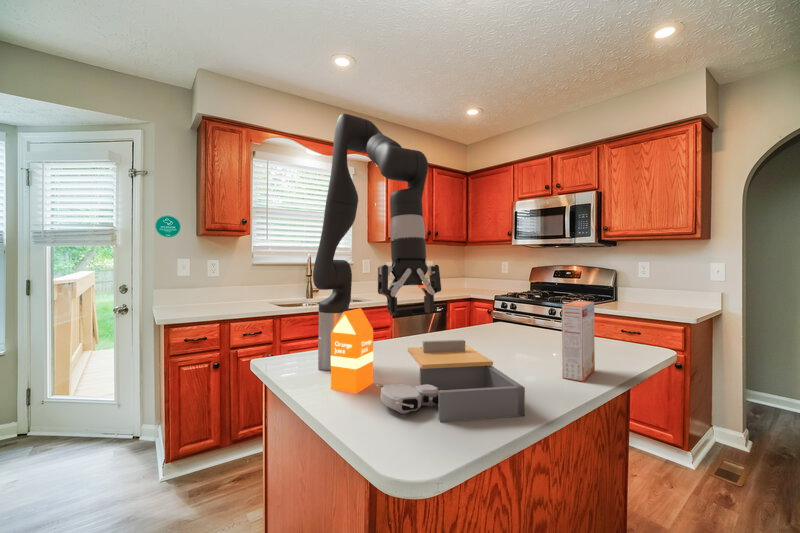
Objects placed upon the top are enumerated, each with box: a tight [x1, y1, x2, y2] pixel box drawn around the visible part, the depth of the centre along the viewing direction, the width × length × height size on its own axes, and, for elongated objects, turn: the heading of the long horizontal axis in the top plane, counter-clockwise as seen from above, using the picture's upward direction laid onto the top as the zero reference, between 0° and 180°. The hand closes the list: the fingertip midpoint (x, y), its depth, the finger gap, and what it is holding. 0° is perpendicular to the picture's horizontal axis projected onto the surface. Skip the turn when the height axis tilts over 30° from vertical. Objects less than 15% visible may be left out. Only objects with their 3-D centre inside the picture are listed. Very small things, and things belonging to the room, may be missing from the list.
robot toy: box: [376, 383, 441, 415], centre depth 83 cm, size 12×4×15 cm
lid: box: [407, 339, 494, 369], centre depth 101 cm, size 18×18×4 cm
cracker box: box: [561, 300, 596, 383], centre depth 107 cm, size 14×6×21 cm, turn 141°
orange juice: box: [330, 308, 374, 394], centre depth 97 cm, size 8×9×20 cm
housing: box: [419, 365, 526, 423], centre depth 85 cm, size 18×18×6 cm
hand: (411, 314), depth 78 cm, fingers open, 8 cm apart
